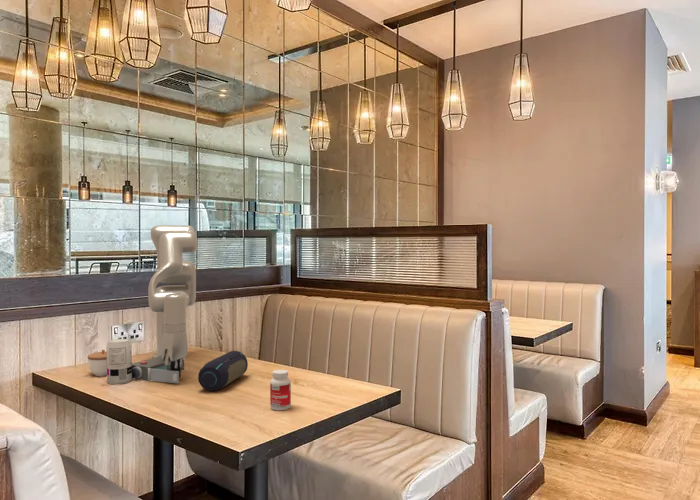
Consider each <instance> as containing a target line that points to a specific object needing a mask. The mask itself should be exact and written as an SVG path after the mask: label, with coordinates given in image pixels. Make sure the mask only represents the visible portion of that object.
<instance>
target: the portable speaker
mask: <svg viewBox="0 0 700 500" xmlns="http://www.w3.org/2000/svg"><path fill="white" fill-rule="evenodd" d="M248 364H249V363H248V359H247V356H246V355H245V354H244V353H242V352H241V351H238V350H232V351H228V352H226V353H224V354H222V355H220V356H218V357H216V358H214V359H212V360H210V361H208V362H206V363H205V364H204V365H203V366H202V367H201V369H199V372H198V374H197V379H198V384H199V385H200V386H201V388H203V390H206V391H210V392H211V391H212V392H215V391H218V390H222V389H223V388H224V387H226V386H228V385H229V384H230V383H232V382H234V381H236V380H237V379H238V378H240V377H242V376H243V375H244V374H245V373H246V371H247V370H248V366H249V365H248Z"/></svg>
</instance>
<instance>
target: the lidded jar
mask: <svg viewBox="0 0 700 500" xmlns="http://www.w3.org/2000/svg"><path fill="white" fill-rule="evenodd" d="M87 365H88V369H89V371H90V372H91V373H92V374H93V375H94V376H95V377H105V376H106V377H107V350H106V351H105V349H101V351H96V352H93V353H90V354H88V355H87Z"/></svg>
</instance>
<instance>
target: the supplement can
mask: <svg viewBox="0 0 700 500" xmlns="http://www.w3.org/2000/svg"><path fill="white" fill-rule="evenodd" d="M132 349H133V348H132V343H131V341H130V339H129V338H117V339H116V338H115V339H111V340H108V342H107V344H106V351H107V376H106V382H107V383H108V384H110V385H122V384H128V383H129V382H131V381H132V363H133V361H132V359H133V357H132V356H133V355H132V354H133V353H132V351H133V350H132Z"/></svg>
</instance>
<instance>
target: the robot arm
mask: <svg viewBox="0 0 700 500" xmlns="http://www.w3.org/2000/svg"><path fill="white" fill-rule="evenodd" d="M150 238H151V241H152V243H153V246H154V248H155V249H156V264H157V265H156V266H157V271H155V272H154V274H153V275H152V277H151V278H150V279H149V280H150V281H149V283H148V291H147V292H148V297H147V298H148V307H149V309H150V311H151V312H153V313H155V316H156V319H155V320H156V353H155V354H154V355H152V358H155V357H159V356H161V360H163V361H165V365H169V368H170V370H172V371H179V379H181V377H182V375H181V374H182V373H181V372H182V371H181V366H182V361H183V360H184V361H185V360H186V357H187V355H188V351H189V350H188V349H189V348H188V347H189V345H188V335H187V319H186V318H187V308H188V307H191V306H194V304H195V303H196V299H197V271H196V270H197V269H196V266H195V264H194V263H193V262H192V261H189V260H184V261H183V259H184V258H183V254H187V253H188V254H191V253H195V252H196V251H197V249H198V238H197V233H196V231H195V228H194V227H193V226H192V225H181V224H180V225H178V224H177V225H175V224H174V225H173V224H171V225H170V224H166V225H165V224H163V225H161V224H159V225H155V226H153V227H151V229H150ZM160 283H162V284H169V285H160V286H158V285H159V284H160ZM170 284H171V285H170ZM173 284H174V285H173ZM176 284H177V285H176ZM179 284H180V285H179ZM157 286H158V287H157Z"/></svg>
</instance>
